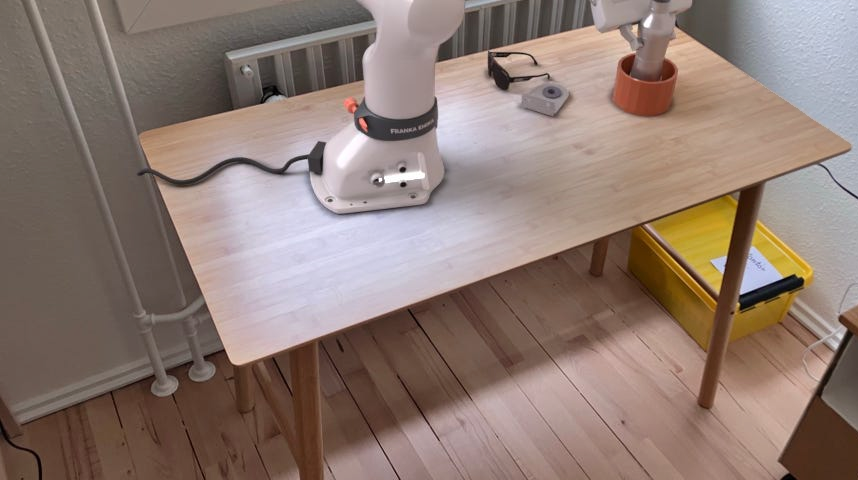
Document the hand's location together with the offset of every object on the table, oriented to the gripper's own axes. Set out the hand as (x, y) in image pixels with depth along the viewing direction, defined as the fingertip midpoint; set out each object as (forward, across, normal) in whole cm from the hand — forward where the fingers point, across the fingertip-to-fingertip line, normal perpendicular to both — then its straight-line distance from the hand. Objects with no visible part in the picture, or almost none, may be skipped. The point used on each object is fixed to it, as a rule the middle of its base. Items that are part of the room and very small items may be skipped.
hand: (654, 44), depth 153 cm
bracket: (+3, -17, +14) cm, 23 cm away
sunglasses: (-4, -17, +22) cm, 28 cm away
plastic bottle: (+8, 0, +9) cm, 12 cm away
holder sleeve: (+8, 0, +9) cm, 12 cm away
